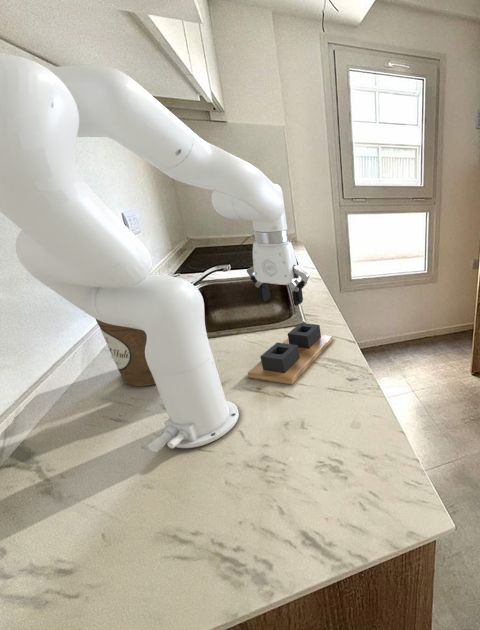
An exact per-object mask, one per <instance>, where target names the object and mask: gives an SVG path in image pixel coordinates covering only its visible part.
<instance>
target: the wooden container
mask: <svg viewBox="0 0 480 630" xmlns="http://www.w3.org/2000/svg"><path fill="white" fill-rule="evenodd" d="M95 321H96V323H97V325H98V327H99V329H100V331H101V334H102V336H103V338H104V341H105V344H106V345H107V348H108V350H109V352H110V355H111V357H112V359H113V361H114V364H115V365H116V368H117V369H118V372H119V374H120V376H121V378H122V380H123V382H124V383H125V384H127V385H129V386H135V387H144V386H145V387H146V386H152V385H156V383H155V381H154V378H153V376H152V373H151V371H150V369H149V367H148V364H147V361H146V357H145V346H146V341H147V335H146V333H145V331H143V330H140V329H135V328H129V327H122V326H116V325H111V324H107V323H104V322H102V321H99V320H97V319H95Z"/></svg>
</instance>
